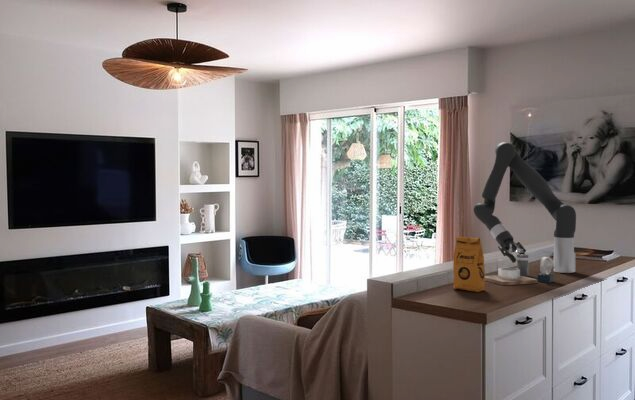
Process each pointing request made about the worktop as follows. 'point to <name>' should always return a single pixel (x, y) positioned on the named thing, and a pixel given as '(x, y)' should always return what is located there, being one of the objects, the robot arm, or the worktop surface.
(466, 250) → the coffee package
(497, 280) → the mount board
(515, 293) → the worktop surface
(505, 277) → the notched white ring
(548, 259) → the watch
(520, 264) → the grey cylinder
